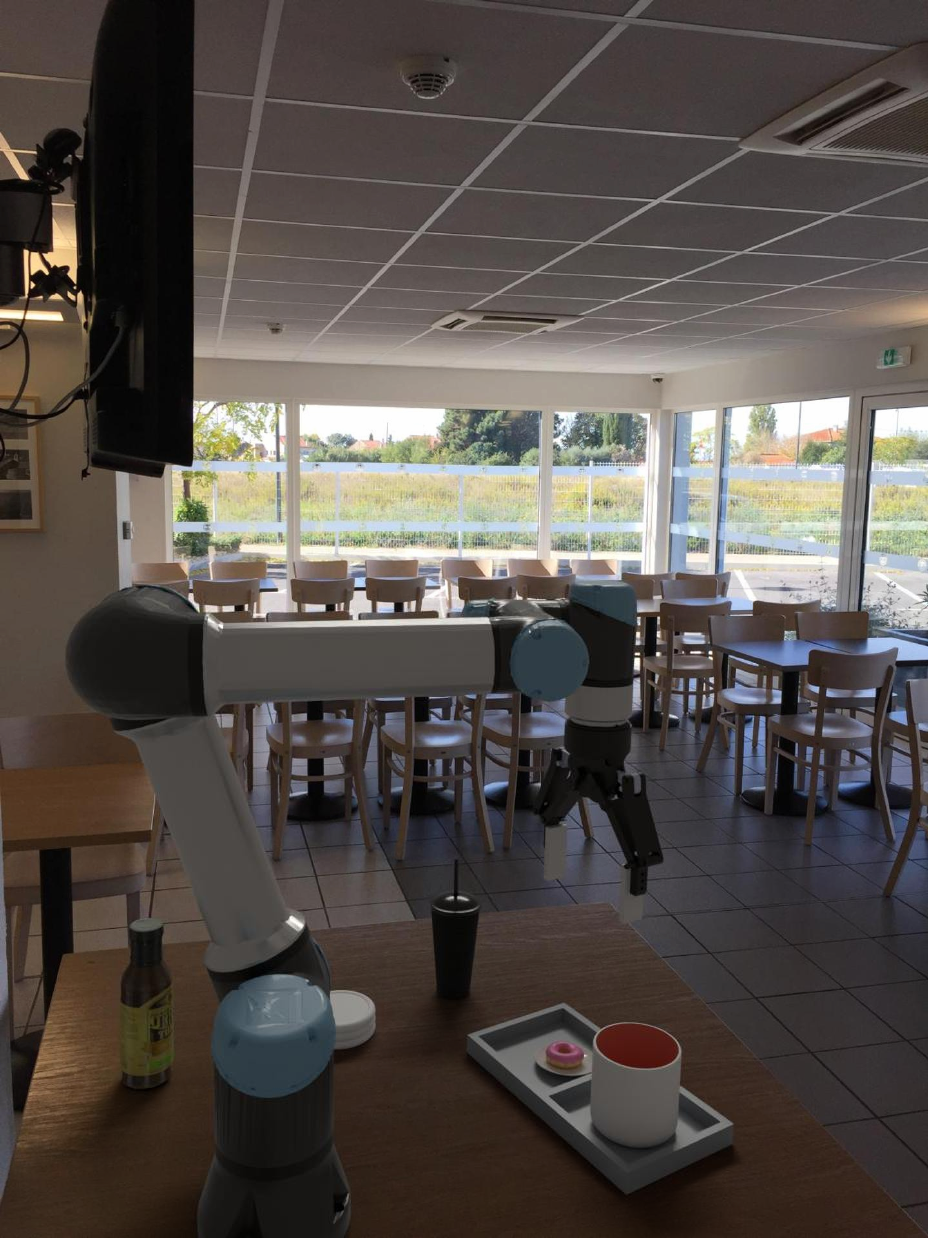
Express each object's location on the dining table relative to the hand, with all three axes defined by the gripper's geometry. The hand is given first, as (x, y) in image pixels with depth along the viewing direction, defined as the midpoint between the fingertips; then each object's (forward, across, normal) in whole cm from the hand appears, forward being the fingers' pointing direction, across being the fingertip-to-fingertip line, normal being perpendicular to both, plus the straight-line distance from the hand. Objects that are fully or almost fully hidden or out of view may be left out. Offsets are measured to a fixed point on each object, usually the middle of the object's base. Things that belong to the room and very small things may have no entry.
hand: (590, 898), depth 118 cm
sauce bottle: (+27, +33, +42) cm, 60 cm away
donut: (+26, +7, -3) cm, 27 cm away
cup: (+26, -6, -3) cm, 27 cm away
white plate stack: (+27, +31, +17) cm, 45 cm away
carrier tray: (+27, +2, -3) cm, 27 cm away
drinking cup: (+27, +32, -2) cm, 42 cm away
